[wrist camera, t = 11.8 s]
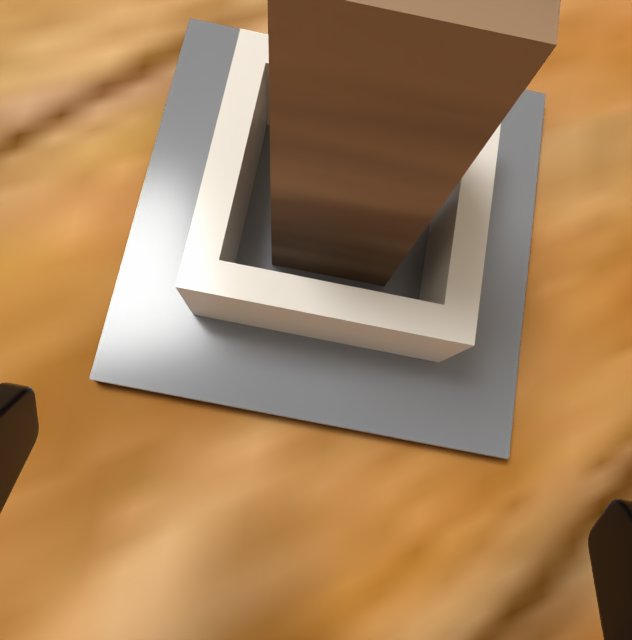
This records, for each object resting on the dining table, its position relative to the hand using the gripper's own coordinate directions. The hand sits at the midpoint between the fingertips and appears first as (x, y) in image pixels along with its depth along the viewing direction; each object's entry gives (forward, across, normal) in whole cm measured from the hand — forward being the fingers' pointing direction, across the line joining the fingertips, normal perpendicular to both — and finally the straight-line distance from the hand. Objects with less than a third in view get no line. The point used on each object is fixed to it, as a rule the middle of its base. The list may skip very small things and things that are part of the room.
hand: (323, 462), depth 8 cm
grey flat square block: (+13, 0, +2) cm, 13 cm away
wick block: (+12, 0, +1) cm, 12 cm away
